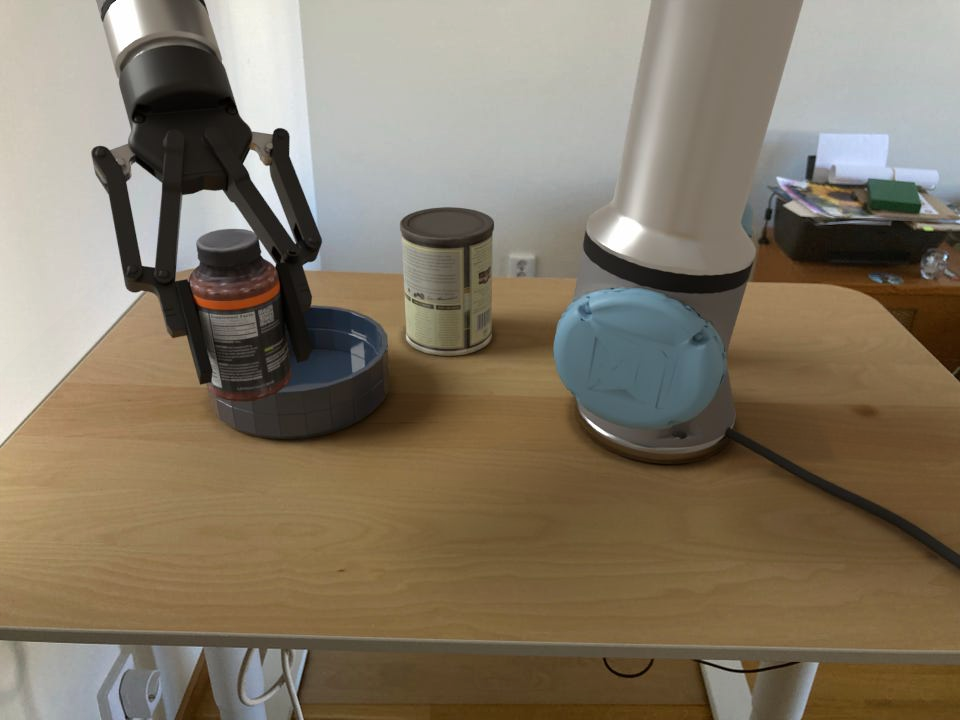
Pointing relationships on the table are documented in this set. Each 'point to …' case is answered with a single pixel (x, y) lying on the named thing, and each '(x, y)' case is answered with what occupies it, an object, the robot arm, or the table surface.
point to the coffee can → (447, 280)
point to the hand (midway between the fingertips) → (256, 365)
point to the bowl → (320, 380)
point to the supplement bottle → (240, 316)
